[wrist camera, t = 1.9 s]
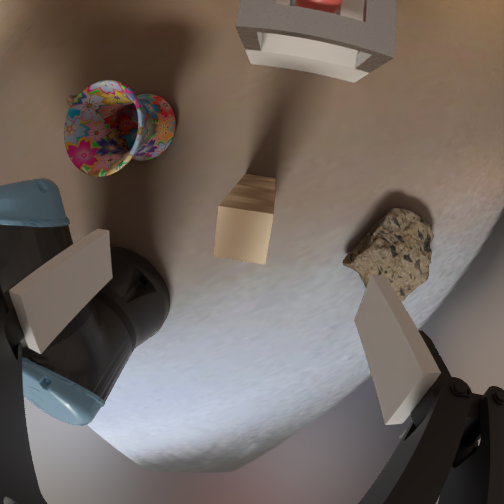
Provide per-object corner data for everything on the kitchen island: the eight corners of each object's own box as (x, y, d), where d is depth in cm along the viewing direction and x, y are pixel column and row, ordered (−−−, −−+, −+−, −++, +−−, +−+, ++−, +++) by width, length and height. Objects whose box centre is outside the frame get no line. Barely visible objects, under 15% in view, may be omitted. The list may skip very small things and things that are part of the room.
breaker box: (250, 63, 27) (245, 49, 22) (264, -15, 23) (261, -39, 17) (354, 82, 27) (369, 73, 22) (361, 3, 22) (375, -17, 17)
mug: (196, 115, 30) (161, 108, 21) (154, 177, 34) (110, 195, 24) (126, 70, 28) (77, 56, 18) (91, 130, 32) (38, 135, 22)
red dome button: (291, 29, 22) (295, -1, 16) (295, 0, 21) (299, -33, 14) (329, 36, 22) (344, 9, 16) (332, 7, 21) (346, -23, 14)
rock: (440, 246, 34) (455, 259, 30) (382, 301, 38) (392, 319, 34) (397, 190, 32) (412, 198, 28) (334, 254, 36) (341, 269, 32)
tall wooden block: (242, 202, 34) (213, 256, 19) (245, 173, 33) (218, 205, 18) (271, 206, 34) (265, 264, 19) (275, 178, 33) (273, 214, 18)
